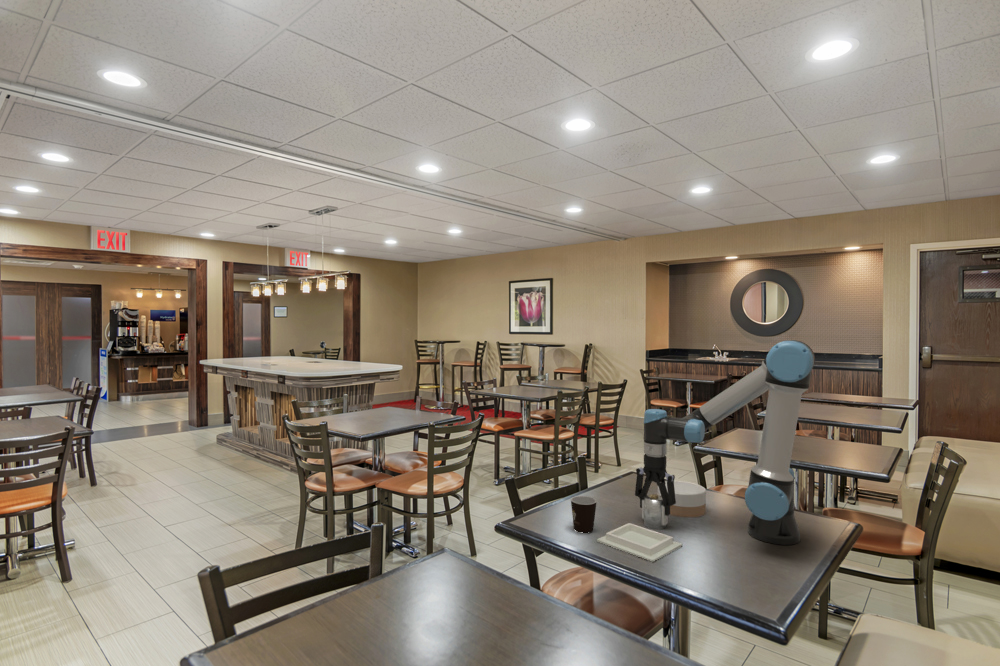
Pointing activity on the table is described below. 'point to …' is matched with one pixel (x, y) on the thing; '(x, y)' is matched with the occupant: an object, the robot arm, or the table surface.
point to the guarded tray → (640, 541)
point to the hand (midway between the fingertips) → (654, 520)
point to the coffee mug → (583, 513)
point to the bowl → (688, 499)
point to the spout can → (653, 511)
